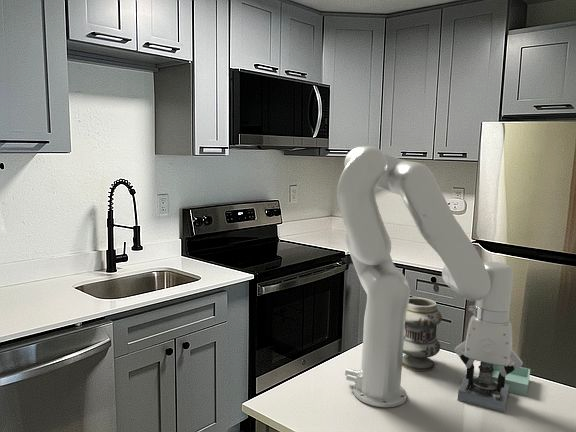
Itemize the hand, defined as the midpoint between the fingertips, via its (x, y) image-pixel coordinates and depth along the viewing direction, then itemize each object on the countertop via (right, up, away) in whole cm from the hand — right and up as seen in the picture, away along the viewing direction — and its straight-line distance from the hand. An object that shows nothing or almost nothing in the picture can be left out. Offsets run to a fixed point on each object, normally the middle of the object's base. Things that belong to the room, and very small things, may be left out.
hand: (484, 385), depth 120 cm
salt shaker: (0, -3, 0) cm, 3 cm away
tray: (+9, -2, +9) cm, 13 cm away
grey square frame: (0, -3, 0) cm, 3 cm away
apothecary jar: (-12, 0, +18) cm, 22 cm away
